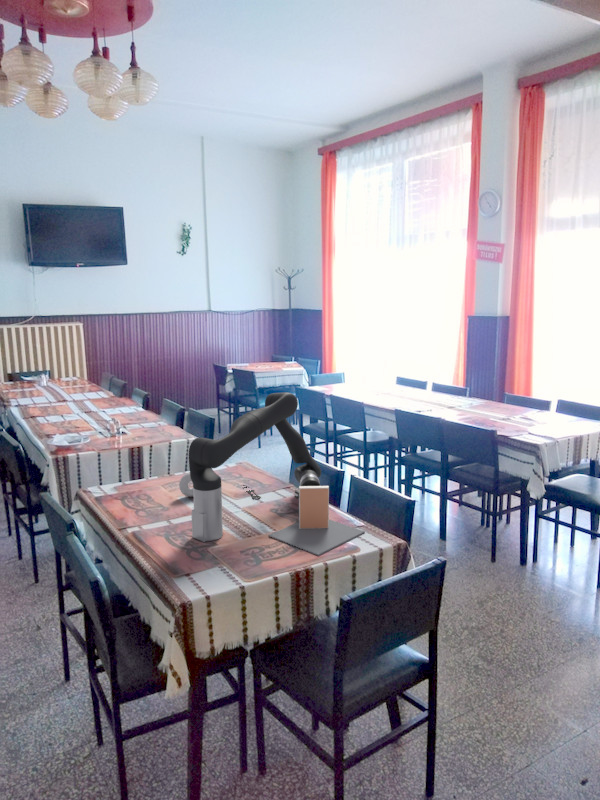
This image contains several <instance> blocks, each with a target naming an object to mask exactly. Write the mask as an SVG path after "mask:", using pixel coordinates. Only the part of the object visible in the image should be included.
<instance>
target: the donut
mask: <svg viewBox="0 0 600 800" xmlns="http://www.w3.org/2000/svg"><path fill="white" fill-rule="evenodd" d="M190 482H192V480H191V477H190V471H189V472H187V473H185V474H183V476H182V477H181V478H180V481H179V484H178V486H179V488H178V489H179V490H180V493H181V494H182V495H184V496H186V497H188V498H191V497H193V487H189V483H190Z"/></svg>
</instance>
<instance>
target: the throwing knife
mask: <svg viewBox="0 0 600 800" xmlns="http://www.w3.org/2000/svg"><path fill="white" fill-rule="evenodd" d="M243 486H246V487H248V488H250V487H249V486H248V485H245V484H243ZM246 487H244V488H246ZM246 492H248V493H247V494H249V493H250V494H251V492H253V493H254V494H255V495H256V496H253V494H251V495H250V494H249V495H250V496H251V498H252V500H254V499H257V500H260V498H261V499H262V496H260V495H258V494H256V492H255V489H253V490H251V491H250V490H249V491H246ZM246 492H245V493H246ZM258 497H259V498H258Z"/></svg>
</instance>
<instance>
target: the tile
mask: <svg viewBox="0 0 600 800" xmlns="http://www.w3.org/2000/svg"><path fill="white" fill-rule="evenodd" d="M298 491H299V499H298V522H299V529H315V528H329V520H330V519H329V518H330V517H329V516H330V515H329V514H330V513H329V512H330V503H329V501H330V486H329V485H321V486H300V485H299V486H298Z"/></svg>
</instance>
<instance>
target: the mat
mask: <svg viewBox="0 0 600 800" xmlns="http://www.w3.org/2000/svg"><path fill="white" fill-rule="evenodd" d="M365 533H366V531H365V530H362V529H359V528H356V527H354V526H350V525H347V524H345V523H341V522H338V521H334V520H332V519H329V528H315V529H299V521H298V522H296V523H294V524H291V525H289V526H287V527H283V528H282V529H279V530H277V531H275V532H272V533H269V534H268V535H267V537H269V536H271V537H273V538H272V539H274V538H276V539H278V540H277V541H279V540H280V541H279V542H281V541H283V542H282V543H284V542H286V543H285V544H287V543H288V544H287V545H289V544H290V545H289V546H292V545H293V546H292V547H294V546H296V547H295V548H297V547H298V548H297V549H299V548H300V550H302V549H303V550H302V551H304V552H307V551H308V553H310V554H311V555H316V556H317V557H318V556H319V557H320V556H321V555H323V554H326V553H327V552H329V551H331V550H334V549H335V548H337V547H339V546H341V545H343V544H345V543H348V542H349V541H351V540H353V539H355V538H357V537H359V536H361V535H364V534H365ZM271 537H270V538H271ZM276 539H275V540H276Z"/></svg>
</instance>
